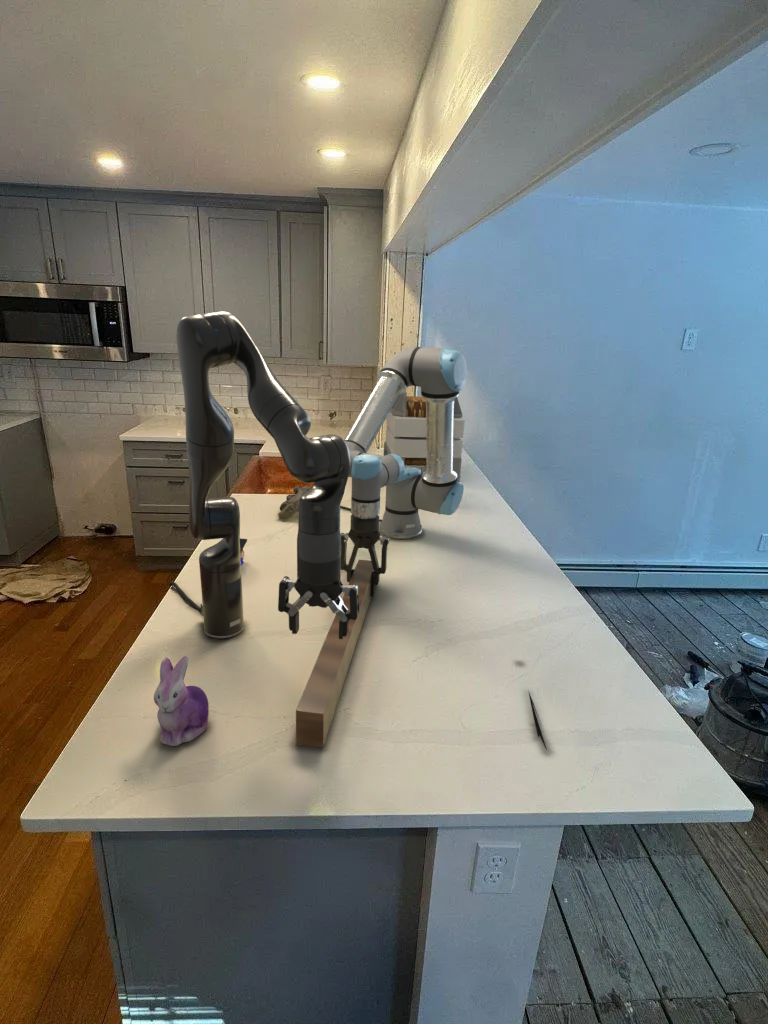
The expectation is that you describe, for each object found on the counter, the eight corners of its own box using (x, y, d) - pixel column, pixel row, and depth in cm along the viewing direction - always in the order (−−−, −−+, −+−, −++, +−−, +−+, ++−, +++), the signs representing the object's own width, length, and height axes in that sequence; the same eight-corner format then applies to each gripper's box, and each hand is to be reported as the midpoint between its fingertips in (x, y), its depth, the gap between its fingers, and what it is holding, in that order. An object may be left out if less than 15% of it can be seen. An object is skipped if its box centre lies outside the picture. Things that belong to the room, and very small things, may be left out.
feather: (520, 667, 129) (525, 661, 129) (546, 754, 103) (553, 747, 102) (514, 663, 129) (519, 657, 129) (538, 750, 103) (545, 742, 102)
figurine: (161, 756, 98) (153, 683, 93) (154, 719, 106) (146, 651, 101) (216, 740, 102) (211, 669, 97) (205, 705, 111) (200, 639, 106)
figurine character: (238, 584, 162) (249, 557, 175) (236, 562, 158) (247, 536, 172) (215, 584, 161) (227, 556, 175) (212, 561, 158) (225, 535, 171)
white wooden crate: (382, 463, 289) (386, 382, 275) (445, 464, 293) (451, 384, 279) (390, 482, 257) (394, 392, 243) (460, 483, 261) (468, 394, 247)
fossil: (283, 491, 225) (311, 471, 220) (299, 509, 228) (327, 489, 223) (268, 515, 206) (298, 494, 201) (285, 535, 209) (316, 514, 204)
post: (357, 582, 163) (358, 559, 161) (375, 584, 163) (376, 560, 160) (296, 744, 102) (295, 710, 100) (323, 748, 102) (323, 714, 99)
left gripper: (271, 557, 94) (274, 641, 100) (356, 564, 93) (353, 650, 98) (285, 540, 101) (286, 619, 107) (363, 547, 100) (361, 627, 105)
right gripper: (328, 516, 146) (327, 596, 154) (397, 522, 144) (393, 603, 152) (334, 507, 153) (333, 584, 161) (400, 512, 151) (396, 590, 159)
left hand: (318, 634), depth 102 cm, fingers open, 8 cm apart
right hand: (362, 593), depth 156 cm, fingers closed on post, 5 cm apart
